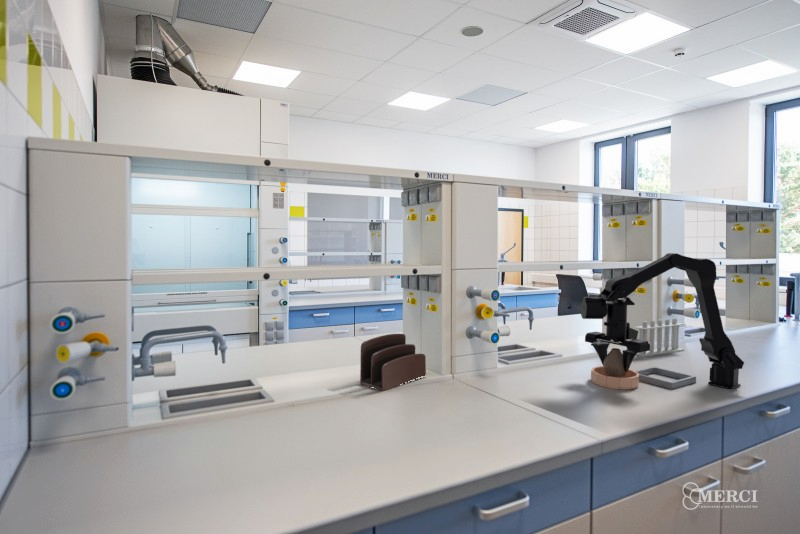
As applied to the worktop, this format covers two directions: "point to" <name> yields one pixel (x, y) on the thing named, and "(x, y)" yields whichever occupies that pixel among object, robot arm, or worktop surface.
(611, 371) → the vase
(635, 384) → the bowl
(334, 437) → the worktop surface
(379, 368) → the letter holder
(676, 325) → the test tube rack
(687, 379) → the parts tray
